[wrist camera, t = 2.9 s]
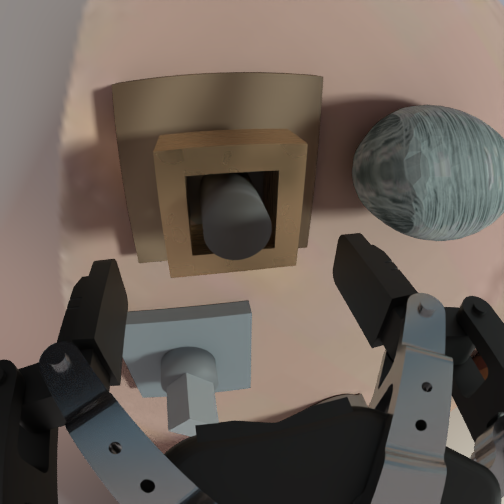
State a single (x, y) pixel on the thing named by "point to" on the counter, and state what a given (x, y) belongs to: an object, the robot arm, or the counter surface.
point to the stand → (210, 119)
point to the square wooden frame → (230, 161)
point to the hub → (190, 358)
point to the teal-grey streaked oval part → (431, 172)
